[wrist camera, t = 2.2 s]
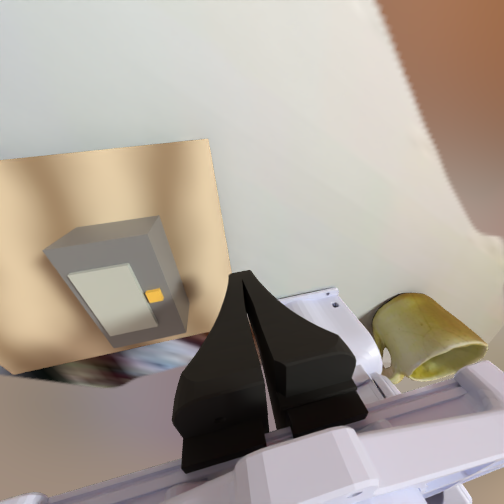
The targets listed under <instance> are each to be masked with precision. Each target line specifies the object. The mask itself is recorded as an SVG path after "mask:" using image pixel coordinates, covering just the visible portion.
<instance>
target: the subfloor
mask: <svg viewBox="0 0 504 504" xmlns="http://www.w3.org/2000/svg"><path fill="white" fill-rule="evenodd" d="M158 215H159V216H160V219H161V222H162V225H163V228H164V231H165V234H166V237H167V240H168V242H169V245H170V248H171V251H172V254H173V257H174V260H175V263H176V266H177V269H178V272H179V274H180V277H181V280H182V283H183V286H184V289H185V292H186V295H187V298H188V301H189V303H190V304H189V313H188V323H187V332H186V333H183V334H178V335H174V336H169V337H165V338H160V339H155V340H151V341H146V342H142V343H137V344H133V345H128V346H123V347H119V348H113V347H112V345H111V344H110V343H109V341H108V340H107V339H106V337H105V336H104V334H103V333H102V332H101V330H100V329H99V328H98V326H97V325H96V323H95V322H94V321H93V319H92V318H91V317H90V315H89V314H88V313H87V311H86V310H85V308H84V307H83V306H82V304H81V303H80V302H79V300H78V299H77V297H76V296H75V295H74V293H73V292H72V291H71V289H70V288H69V287H68V285H67V284H66V282H65V281H64V280H63V278H62V277H61V276H60V274H59V273H58V271H57V270H56V269H55V267H54V266H53V265H52V263H51V262H50V261H49V259H48V258H47V256H46V255H45V254H44V252H43V251H42V250H44V249H45V248H47V247H48V246H50V245H51V244H53V243H54V242H55V241H57V240H58V239H60V238H61V237H63V236H64V235H66V234H67V233H69V232H70V231H72V230H73V229H75V228H76V227H82V226H89V225H96V224H103V223H110V222H117V221H123V220H130V219H137V218H144V217H151V216H158ZM231 273H232V272H231V266H230V260H229V255H228V249H227V243H226V237H225V232H224V226H223V220H222V214H221V209H220V203H219V197H218V192H217V186H216V180H215V174H214V169H213V163H212V157H211V151H210V146H209V140H208V139H201V140H191V141H181V142H172V143H163V144H153V145H143V146H134V147H124V148H114V149H105V150H95V151H85V152H75V153H66V154H56V155H46V156H37V157H27V158H17V159H8V160H0V365H1V366H2V367H4V368H5V369H6V370H8V371H9V372H10V373H12V374H13V375H15V374H19V373H24V372H28V371H33V370H37V369H42V368H46V367H51V366H55V365H60V364H64V363H69V362H73V361H78V360H83V359H87V358H92V357H96V356H101V355H105V354H110V353H114V352H119V351H123V350H128V349H132V348H137V347H141V346H146V345H151V344H155V343H160V342H164V341H169V340H173V339H178V338H182V337H187V336H191V335H196V334H200V333H205V332H209V331H211V329H212V327H213V325H214V323H215V321H216V319H217V317H218V314H219V312H220V309H221V306H222V304H223V301H224V298H225V294H226V290H227V286H228V278H229V277H228V275H229V274H231Z"/></svg>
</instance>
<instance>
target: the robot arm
mask: <svg viewBox="0 0 504 504" xmlns="http://www.w3.org/2000/svg"><path fill="white" fill-rule="evenodd" d="M228 277H229V278H228V286H227V290H226V294H225V298H224V301H223V304H222V306H221V309H220V312H219V314H218V317H217V319H216V321H215V323H214V325H213V327H212V329H211V331H210V333H209V334H208V336H207V338H206V339H205V341H204V343H203V344H202V346H201V347H200V349H199V350H198V352H197V353H196V355H195V356H194V358H193V359H192V360H191V362H190V363H189V364H188V366H187V367H186V368H185V370H184V371H183V372H182V374H181V376H180V380H179V383H178V386H177V390H176V395H175V399H174V406H173V416H172V422H173V425H174V426H175V427H176V429H177V430H178V432H179V433H180V434H181V436H182V437H183V449H182V450H183V451H182V458H181V459H177V460H174V461H171V462H167V463H164V464H161V465H157V466H154V467H151V468H147V469H144V470H140V471H137V472H133V473H130V474H127V475H123V476H120V477H117V478H113V479H110V480H106V481H103V482H100V483H96V484H93V485H90V486H86V487H83V488H79V489H76V490H73V491H70V492H66V493H62V494H59V495H56V496H52V497H49V498H48V497H47V496H46V495H45V494H42V493H38V492H32V493H25V494H21V495H18V496H14V497H11V498H8V499H4V500H1V501H0V504H472V498H471V496H470V495H469V493H468V492H467V490H466V489H465V487H464V486H463V484H462V483H465V482H467V481H470V480H472V479H475V478H477V477H479V476H482V475H485V474H487V473H490V472H492V471H495V470H498V469H500V468H503V467H504V372H503V371H501V370H500V369H499V368H497V367H496V366H495V365H494V364H492V363H491V362H490V361H488V360H484V361H481V362H477V363H474V364H470V365H467V366H464V367H462V368H461V369H459V370H458V371H457V372H456V374H455V375H454V378H451V379H448V380H445V381H441V382H438V383H435V384H431V385H428V386H424V387H421V388H418V389H414V390H411V391H407V392H404V393H400V392H399V390H398V389H397V388H396V387H395V385H394V384H393V383H392V382H391V381H390V380H389V379H388V378H387V377H386V376H383V375H381V373H382V358H381V355H380V352H379V349H378V347H377V345H376V343H375V341H374V339H373V338H372V336H371V335H370V333H369V332H368V331H367V329H366V328H365V327H364V326H363V324H362V323H361V322H360V321H359V320H358V318H357V317H356V316H355V315H354V314H353V312H352V311H351V310H350V309H349V308H348V306H347V305H346V304H345V303H344V302H343V300H342V299H341V298H340V297H339V296H338V293H339V290H338V289H337V288H330V289H325V290H320V291H316V292H311V293H306V294H301V295H297V296H292V297H287V298H282V299H276V298H275V297H274V296H273V295H272V294H271V293H270V292H269V291H268V290H267V289H266V288H265V287H264V286H263V285H262V284H261V283H260V282H259V281H258V279H257V278H256V277H255V276H254V274H253V273H252V271H250V270H247V271H242V272H236V273H231V274H229V275H228ZM247 314H248V317H249V320H250V323H251V326H252V329H253V332H254V335H255V338H256V341H257V345H258V348H259V352H260V356H261V361H262V365H263V369H264V373H265V378H266V383H267V387H268V392H269V396H270V401H271V405H272V410H273V415H274V419H275V423H276V428H277V430H275V431H272V432H269V425H268V411H267V402H266V393H265V383H264V378H263V374H262V370H261V366H260V362H259V359H258V355H257V352H256V348H255V344H254V341H253V337H252V333H251V329H250V326H249V322H248V318H247ZM372 380H373V381H374V383H375V384H376V386H377V387H376V386H375V385H374V383H373V382H372ZM377 388H378V389H377Z"/></svg>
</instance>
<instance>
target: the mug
mask: <svg viewBox="0 0 504 504" xmlns="http://www.w3.org/2000/svg"><path fill="white" fill-rule="evenodd" d="M372 326H373V336H374V340H375V343H376V345H377V347H378V349H379V352H380V355H381V358H382V357H383V350H384V348H385V347H386V348H387V349H388V351H389V353H390V356H391V366H390V367H388V368H384V366H383V364H382V373H381V375H383V376H386V377H387V378H388V379H389V380H390V381H391V382H392V383H393V384H397V383H399V382H400V381H401V380H402V379H403V377H404V376H406V377H408V378H410V379H411V380H414V381H423V382H425V381H432V380H436V379H440V378H444V377H447V376H450V375H453V374H455V373H456V372H457V371H458V370H459V369H461V368H462V367H464V366H467V365H470V364H473V363H475V362H477V361H478V360H480V359H482V358H483V357H484V356H485V354H486V352H487V350H488V348H487V347H488V344H487V343H485V342H484V341H483V340H482V339H481V338H480V337H479V336H478V335H477V334H476V333H475V332H473V331H472V330H471V329H469V328H468V327H467V326H466V325H465V324H463V323H462V322H461V321H460V320H458V319H457V318H456V317H454V316H453V315H452V314H450V313H449V312H448V311H446V310H445V309H444V308H443V307H441V306H440V305H439V304H438V303H437V302H436V301H434V300H433V299H432V298H430V297H429V296H427V295H425V294H421V293H404V294H400V295H398V296H397V297H395V298H393V299H392V300H391V301H389V302H388V303H386V304H384V305H383V306H382V307H381V308H379V310H378V311H377V313H376V315H375V316H374V318H373V322H372Z"/></svg>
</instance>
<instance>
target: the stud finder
mask: <svg viewBox="0 0 504 504" xmlns="http://www.w3.org/2000/svg"><path fill="white" fill-rule="evenodd" d="M42 251H43V252H44V254H45V255H46V256H47V258H48V259H49V261H50V262H51V263H52V265H53V266H54V267H55V269H56V270H57V271H58V273H59V274H60V276H61V277H62V278H63V280H64V281H65V282H66V284H67V285H68V287H69V288H70V289H71V291H72V292H73V293H74V295H75V296H76V297H77V299H78V300H79V302H80V303H81V304H82V306H83V307H84V308H85V310H86V311H87V313H88V314H89V315H90V317H91V318H92V319H93V321H94V322H95V323H96V325H97V326H98V328H99V329H100V330H101V332H102V333H103V334H104V336H105V337H106V339H107V340H108V341H109V343H110V344H111V345H112V347H113V348H119V347H123V346H128V345H133V344H137V343H142V342H146V341H151V340H155V339H160V338H165V337H169V336H174V335H178V334H183V333H186V332H187V323H188V313H189V304H190V303H189V301H188V298H187V295H186V292H185V289H184V286H183V283H182V280H181V277H180V274H179V272H178V269H177V266H176V263H175V260H174V257H173V254H172V251H171V248H170V245H169V242H168V240H167V237H166V234H165V231H164V228H163V225H162V222H161V219H160V216H159V215H158V216H151V217H144V218H137V219H130V220H123V221H117V222H110V223H103V224H96V225H89V226H82V227H76V228H75V229H73V230H72V231H70V232H69V233H67V234H66V235H64V236H63V237H61V238H60V239H58V240H57V241H55V242H54V243H53V244H51V245H50V246H48V247H47V248H45V249H44V250H42Z"/></svg>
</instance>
